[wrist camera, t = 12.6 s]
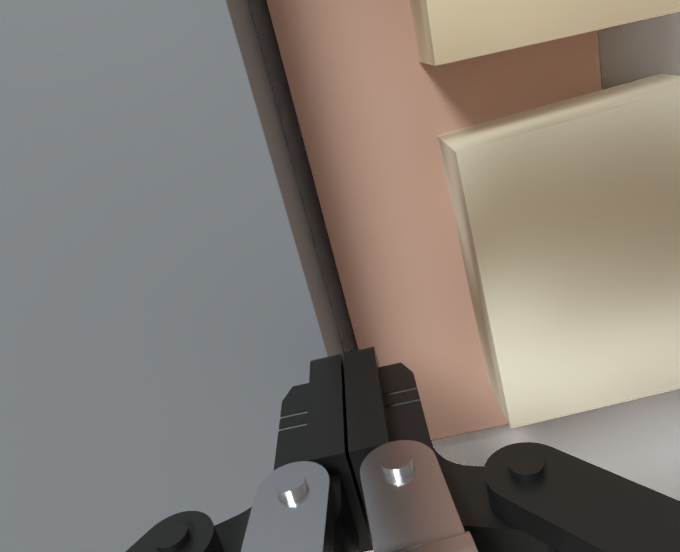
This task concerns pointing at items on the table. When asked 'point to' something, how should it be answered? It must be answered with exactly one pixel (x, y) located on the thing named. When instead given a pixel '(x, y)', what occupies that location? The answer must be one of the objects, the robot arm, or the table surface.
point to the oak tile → (516, 23)
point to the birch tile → (573, 247)
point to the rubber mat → (408, 178)
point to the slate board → (144, 269)
